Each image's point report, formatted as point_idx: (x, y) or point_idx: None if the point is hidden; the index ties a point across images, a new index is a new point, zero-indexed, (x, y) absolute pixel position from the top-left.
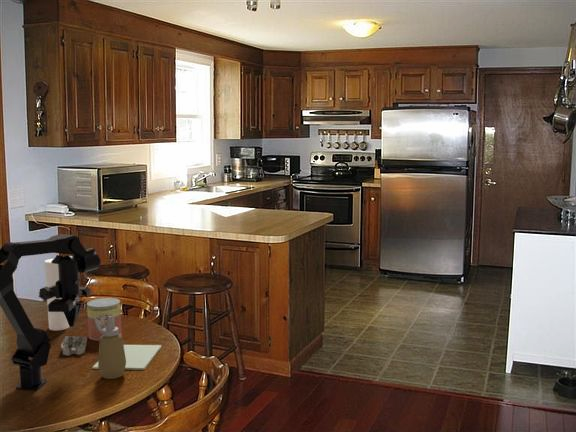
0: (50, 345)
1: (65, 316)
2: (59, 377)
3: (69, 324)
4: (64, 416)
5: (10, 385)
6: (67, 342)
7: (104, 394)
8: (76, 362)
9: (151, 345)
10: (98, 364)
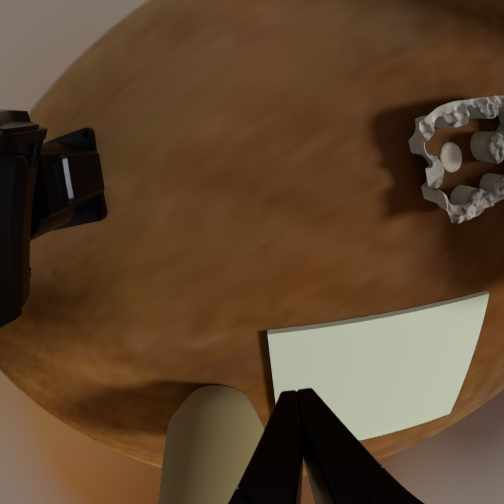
0: (11, 321)
1: (232, 498)
2: (153, 244)
3: (274, 414)
4: (4, 363)
5: (54, 104)
6: (485, 117)
7: (105, 413)
8: (333, 228)
9: (455, 395)
10: (179, 416)
